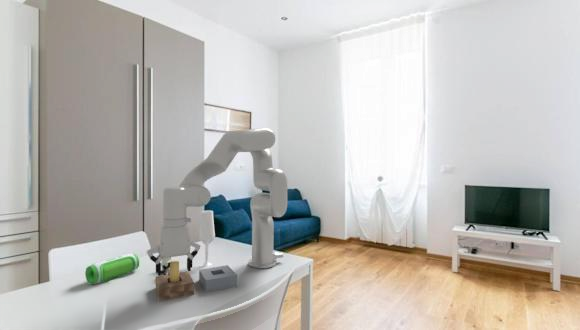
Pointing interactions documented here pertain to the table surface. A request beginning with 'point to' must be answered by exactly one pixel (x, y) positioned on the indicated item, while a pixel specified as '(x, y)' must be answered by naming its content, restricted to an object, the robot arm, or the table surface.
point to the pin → (174, 271)
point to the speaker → (111, 268)
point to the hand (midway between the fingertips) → (174, 272)
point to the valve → (166, 265)
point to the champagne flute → (206, 232)
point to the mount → (174, 286)
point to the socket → (217, 278)
